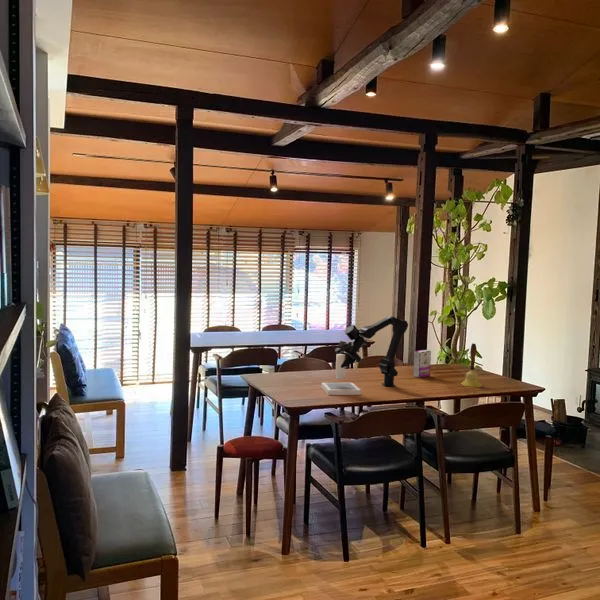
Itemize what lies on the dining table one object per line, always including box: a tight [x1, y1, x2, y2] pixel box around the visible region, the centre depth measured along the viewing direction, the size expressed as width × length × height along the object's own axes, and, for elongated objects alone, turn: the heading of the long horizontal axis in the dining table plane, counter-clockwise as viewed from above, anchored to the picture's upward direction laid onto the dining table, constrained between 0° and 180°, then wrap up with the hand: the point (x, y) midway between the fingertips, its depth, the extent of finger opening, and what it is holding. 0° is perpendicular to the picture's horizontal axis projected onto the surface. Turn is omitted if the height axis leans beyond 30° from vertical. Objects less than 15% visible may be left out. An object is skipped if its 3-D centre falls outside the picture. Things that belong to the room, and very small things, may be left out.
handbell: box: [460, 343, 483, 388], centre depth 336 cm, size 12×12×25 cm
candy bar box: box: [413, 349, 432, 379], centre depth 356 cm, size 11×5×16 cm, turn 129°
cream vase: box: [335, 353, 346, 380], centre depth 308 cm, size 5×5×13 cm
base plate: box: [320, 382, 362, 396], centre depth 309 cm, size 18×18×3 cm
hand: (338, 366), depth 308 cm, fingers closed on cream vase, 5 cm apart
